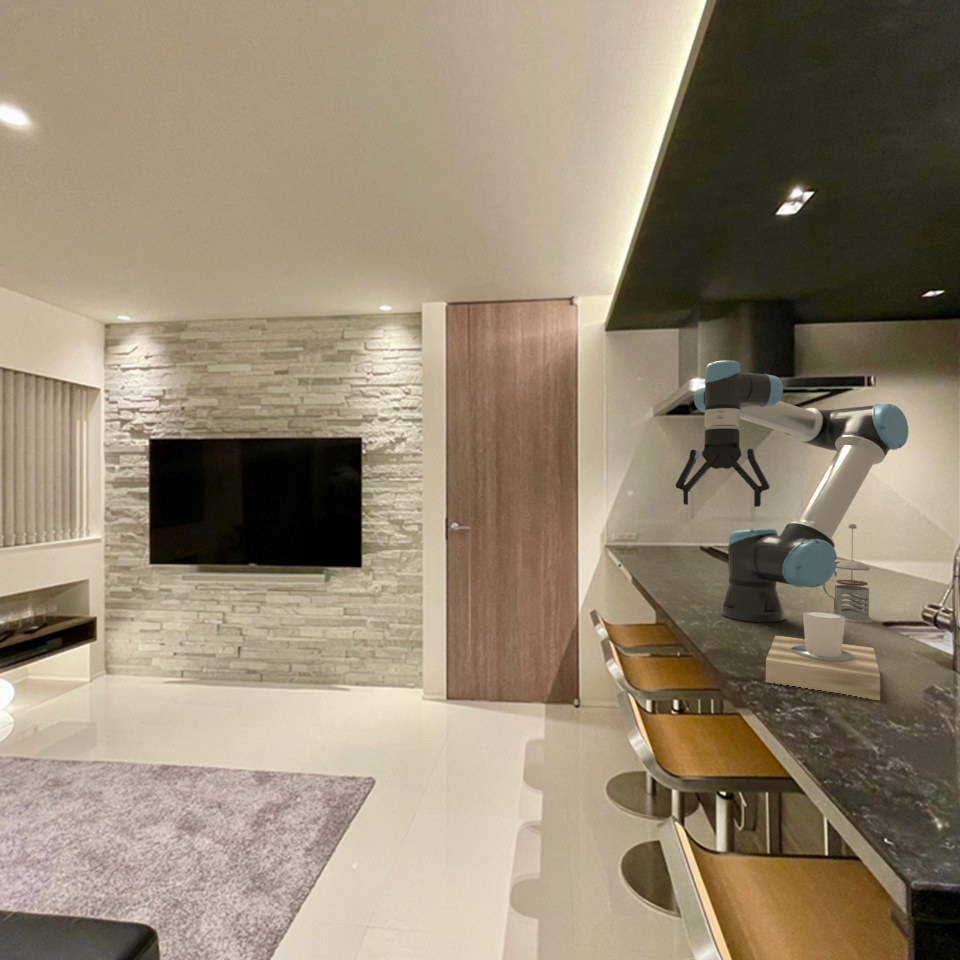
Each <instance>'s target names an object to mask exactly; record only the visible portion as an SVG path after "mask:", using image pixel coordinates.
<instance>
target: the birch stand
mask: <svg viewBox="0 0 960 960" xmlns="http://www.w3.org/2000/svg"><path fill="white" fill-rule="evenodd" d="M765 683H768V684H769V683H770V684H774V683H775V685H780V684H782V686H786V685H789V686H788V687H792V686H796V687H795V688H798V687H801V688H800V689H805V688H808V689H807V690H811V689H815V690H814V691H817V690H822V691H821V692H823V691H827V692H826V693H829V692H835V693H841V694H840V695H842V694H847V695H846V696H848V695H852V696H851V697H854V696H857V697H856V698H860V697H862V698H861V699H866V698H868V700H872V701H873V700H874V701H881V673H880V669H879V666H878V661H877V656H876V652H875V649H874V647H869V646H862V645H854V644H853V645H852V644H845V643H842V650H841V656H839V657H825V656H818V655H814V654H811V653H808V652H807V651H806V644H805V638H804V639H803V638H798V637H789V636H781V635H775V636H774V639H773V641H772V644H771V646H770V648H769V651H768V653H767V656H766V659H765ZM828 691H829V692H828ZM835 693H834V694H835Z"/></svg>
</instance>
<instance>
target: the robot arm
mask: <svg viewBox="0 0 960 960" xmlns="http://www.w3.org/2000/svg"><path fill="white" fill-rule="evenodd" d="M783 393H784V385H783V382H782V380H781V379H780V377H778V376H776V375H772V374H768V373H763V374H762V373H753V372H752V373H751V372H743V371H742V369H741V363H740V362H738V361H736V360H729V359H727V360H717V361H713V362H710V363H708V364H707V366H706V367H705V376H704V384H703V385H700V386H698V388H697V389H696V390H695V392H694V395H693V402H694V405H695V407H696V408H697V410H699V412H702V413H704V427H705V428H707V429H705V431H704V448H703V450H697V449H691V450H690V451H689V458H688V461H687V462H686V464H685V466H684V467H683V470H682V472H681V474H680V476H679V478H678V479H677V481H676V483H675V488H676V489H679V490H681V491H682V492H683V497H682V498H683V500H682V501H683V505H687V520H692V519H694V490H693V491H692V488H693V487H694V486H695V485H696V484H697V483H698V482H699V481H700V479H702V477H703V476H704V475H705V474H706V473H707V472H708V471H709V470H710V469H711V468H712V469H714V470H715V469H717V470H718V469H723V470H724V469H725V470H726V469H731V468H733V469H734V471H736V472H737V473H738V475H739V476H740V477H741V478H742V479H743V480H744V481H745V482H746V484H748V485H749V486H750V488H751V489H752V490H753V492H750V508H749V509H750V510H749V511H750V517H749V518H750V520H749V522H750V523H751V522H753V523H755V522H756V507H759V508H760V507H761V504H762V502H761V499H762V492H764V491H766V490H769V489H770V488H771V486H770V484H769V482H768V480H767V478H766V477H765V473H764V472H763V471H762V468H761V467H760V465H759V463H758V461H757V460H756V456H755V450H754V449H752V448H748V449H744V450H741V448H740V430H739V429H738V428H739V427H740V421H742V420H743V421H745V422H749V423H752V424H755V425H759V426H762V427H765V428H769V429H772V430H775V431H779V432H781V433H785V434H788V435H792V436H793V438H794V439H795V440H797V441H799V442H802V443H804V444H808V445H811V446H814V447H818V448H821V449H824V450H825V449H826V450H829V451H835V455H834V456H833V458H832V459H831V461H830V463H829V465H828V466H827V468H826V470H825V472H824V473H823V475H822V477H821V478H820V480H819V481H818V483H817V486H816V487H815V489H814V490H813V492H812V494H811V496H810V497H809V498H808V501H807V502H806V504H805V506H804V508H803V510H801V513H800V514H799V516H798V518H797V519H796V521H791V522H788V523H787V524H786V525H785V527H784V529H783V530H782V532H781V534H780V535H779V534H778V532H777V531H778V530H776V529H775V528H773V529H772V528H769V529H768V528H764V529H763V528H762V529H744V530H743V529H741V530H734V531H731V533H729V537H728V538H729V540H728V544H727V548H728V554H727V555H728V558H727V559H728V585H727V589H726V591H725V594H724V597H723V600H722V603H721V605H720V606H721V607H720V609H721V610H720V614H721V615H722V616H724V617H726V618H730V619H733V620H738V621H739V620H740V621H745V622H753V623H776V622H782V621H783V620H784V608H783V605H782V602H781V599H780V596H779V593H778V590H777V583H780V584H784V585H785V584H786V585H791V586H794V587H798V588H809V589H812V588H813V589H814V588H817V587H821V586H823V584H824V583H825V584H826V583H827V582H828V581H829V580H830V579H831V578H832V576H833V575H834V571H836V569H837V568H836V565H837V563H838V562H836V560H838V555H837V552H836V549H835V547H836V545H835V541H834V540H833V536H834V535H835V533H836V531H837V529H838V528H839V525H841V522H842V520H843V519H844V517H845V516H846V513H847V511H849V508H850V506H851V505H852V503H853V500H854V499H855V497H856V495H857V494H858V492H859V490H860V488H861V487H862V485H863V483H864V481H865V479H866V478H867V476H868V474H869V472H870V471H871V469H872V468H873V465H879V464H880V463H882V462H883V461H884V460H885V458H886V456H887V455H888V453H889V451H891V450H893V451H895V450H897V449H901V448H903V447H904V446H905V445H906V443H907V441H908V437H909V423H908V420H907V417H906V415H905V413H904V412H903V410H901V408H900V407H898V406H897V405H896V404H895V405H894V404H892V403H882V404H881V403H875V404H872V405H863V406H856V407H845V408H837V409H835V408H834V409H818V408H814V407H807V408H803V407H800V406H796V405H794V404H790V403H788V402H784V401H781V399H782V396H783ZM701 456H702V457H703V459H704V460H705V462H704V463H703V464H702V465H701V467H700V468H699V469H698V470H697V472H696V473H695V474H694V475H692V477H691V478H690V479H689V481H687V479H688V477H689V475H690V474H691V471H692V470H693V467H694V466H695V464H696V461H697V460H699V459H700V457H701ZM742 456H743V457H744V459H746V460H748V462H749V464H750V466H751V468H752V469H753V472H754V474H755V475H756V477H757V479H758V481H759V484H761V485H760V486H759V485H758V483H756V481H755V480H754V479H753V478H752V477H751V476H750V475H749V474H748V472H747V471H746V470H745V469H744V468H743V467H742V466H741V464H739V462H738V461H739V459H740V458H741V457H742ZM686 481H687V482H686Z"/></svg>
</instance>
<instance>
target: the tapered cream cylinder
mask: <svg viewBox="0 0 960 960" xmlns="http://www.w3.org/2000/svg"><path fill="white" fill-rule="evenodd" d="M802 618H803V631H804V639H805V644H806V651H807V652H808V653H811V654H814V655H818V656H825V657H839V656H841V650H842V644H843V641H844V632H845V624H846V621H845V617H844V616H841V615H838V614H834V612H827V611H817V610H816V611H805V612H802Z"/></svg>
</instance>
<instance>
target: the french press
mask: <svg viewBox="0 0 960 960" xmlns="http://www.w3.org/2000/svg"><path fill="white" fill-rule="evenodd" d="M848 529H851V559H850V560H843V561H839V562H836V563H837V565H836V569H841V570H850V571H851V577H850V579H837V580H836V583H838V584H839V585H838V584H837V585H834V586H835V587H834V596H832V595H831V594H829V593H828V591H827V589H826V586H825V585H826V583H824V584H823V585H822V588H823V591H824V593H825V594H826V595H827V596H828V597H830V598H832V599H833V613H834V614H838V615H841V616H844V617H845V622H847V621H851V622H850V623H855V622H871V623H873V622H874V620H873V618H872V617H870V616H869V615H870V588H868V587H864V586H868V582H867V581H863V580H857V579H856V580H855V579H853V571H870V569H871V567H870V566H869V565H867V564H865V563H863V562H860V561H855V559H853V549H854V548H853V545H854V544H853V542H854V541H853V540H854V538H853V537H854V536H853V535H854V534H853V532H854V531H853V530H857V529H858V528H857V524H854V523H851V524H848ZM833 575H834V577H837V576H838V574H837V571H836V570H835V571H834V573H833ZM842 595H843V596H842ZM844 595H845V596H844ZM846 604H847V605H846ZM872 621H873V622H872Z"/></svg>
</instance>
